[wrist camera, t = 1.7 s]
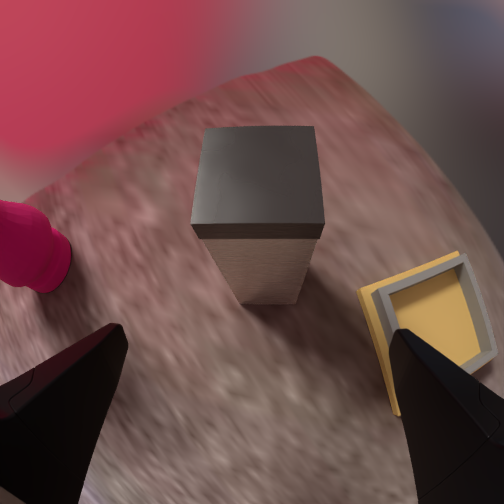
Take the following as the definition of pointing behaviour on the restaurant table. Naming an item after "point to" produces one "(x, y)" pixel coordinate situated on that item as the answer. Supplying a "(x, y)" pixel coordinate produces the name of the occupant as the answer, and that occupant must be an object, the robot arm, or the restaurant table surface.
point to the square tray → (431, 314)
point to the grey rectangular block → (260, 208)
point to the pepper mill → (31, 249)
